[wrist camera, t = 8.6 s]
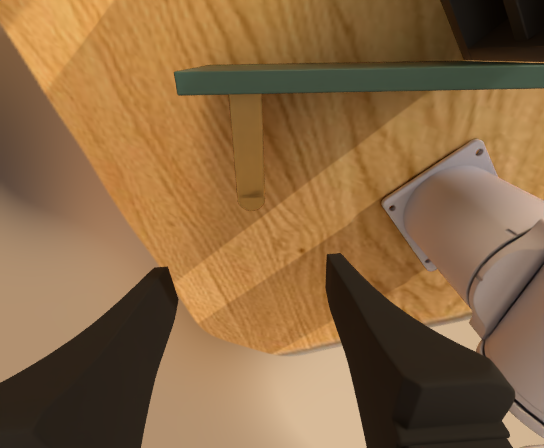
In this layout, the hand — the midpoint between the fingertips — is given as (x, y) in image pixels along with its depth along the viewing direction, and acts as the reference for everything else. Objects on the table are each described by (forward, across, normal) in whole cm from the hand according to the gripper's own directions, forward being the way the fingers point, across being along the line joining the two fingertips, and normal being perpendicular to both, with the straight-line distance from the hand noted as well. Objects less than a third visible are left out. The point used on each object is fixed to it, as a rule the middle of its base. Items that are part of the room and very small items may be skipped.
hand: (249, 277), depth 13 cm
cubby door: (+10, -6, -5) cm, 13 cm away
